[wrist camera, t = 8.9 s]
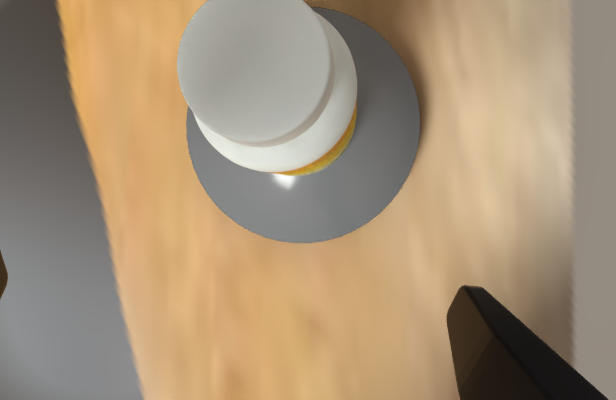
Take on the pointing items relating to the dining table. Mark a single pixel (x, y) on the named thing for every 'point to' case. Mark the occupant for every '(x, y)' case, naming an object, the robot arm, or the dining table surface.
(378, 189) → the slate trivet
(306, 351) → the dining table surface
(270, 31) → the supplement bottle
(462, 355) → the robot arm
